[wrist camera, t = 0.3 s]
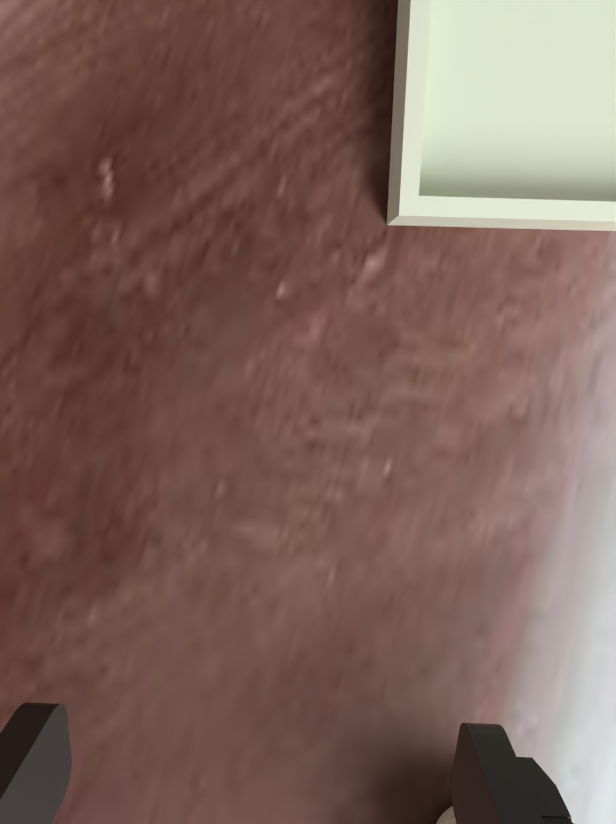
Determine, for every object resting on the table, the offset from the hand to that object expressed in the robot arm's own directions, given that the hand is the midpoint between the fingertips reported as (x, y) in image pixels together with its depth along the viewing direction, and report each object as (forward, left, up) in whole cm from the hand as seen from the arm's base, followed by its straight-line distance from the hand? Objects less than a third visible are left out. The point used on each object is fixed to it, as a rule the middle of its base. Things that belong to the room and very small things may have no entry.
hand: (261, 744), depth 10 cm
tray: (-24, +18, -28) cm, 41 cm away
